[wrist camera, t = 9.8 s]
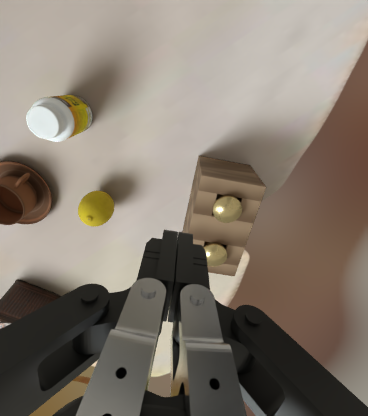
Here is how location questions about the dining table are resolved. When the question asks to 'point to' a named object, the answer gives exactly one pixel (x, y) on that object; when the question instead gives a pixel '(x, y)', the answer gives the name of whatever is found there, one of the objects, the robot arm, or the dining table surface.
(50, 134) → the supplement bottle
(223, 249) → the far peg
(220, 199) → the near peg
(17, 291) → the manual coffee grinder
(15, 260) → the dining table surface
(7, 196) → the cup and saucer
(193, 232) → the brown wooden block
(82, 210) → the lemon
